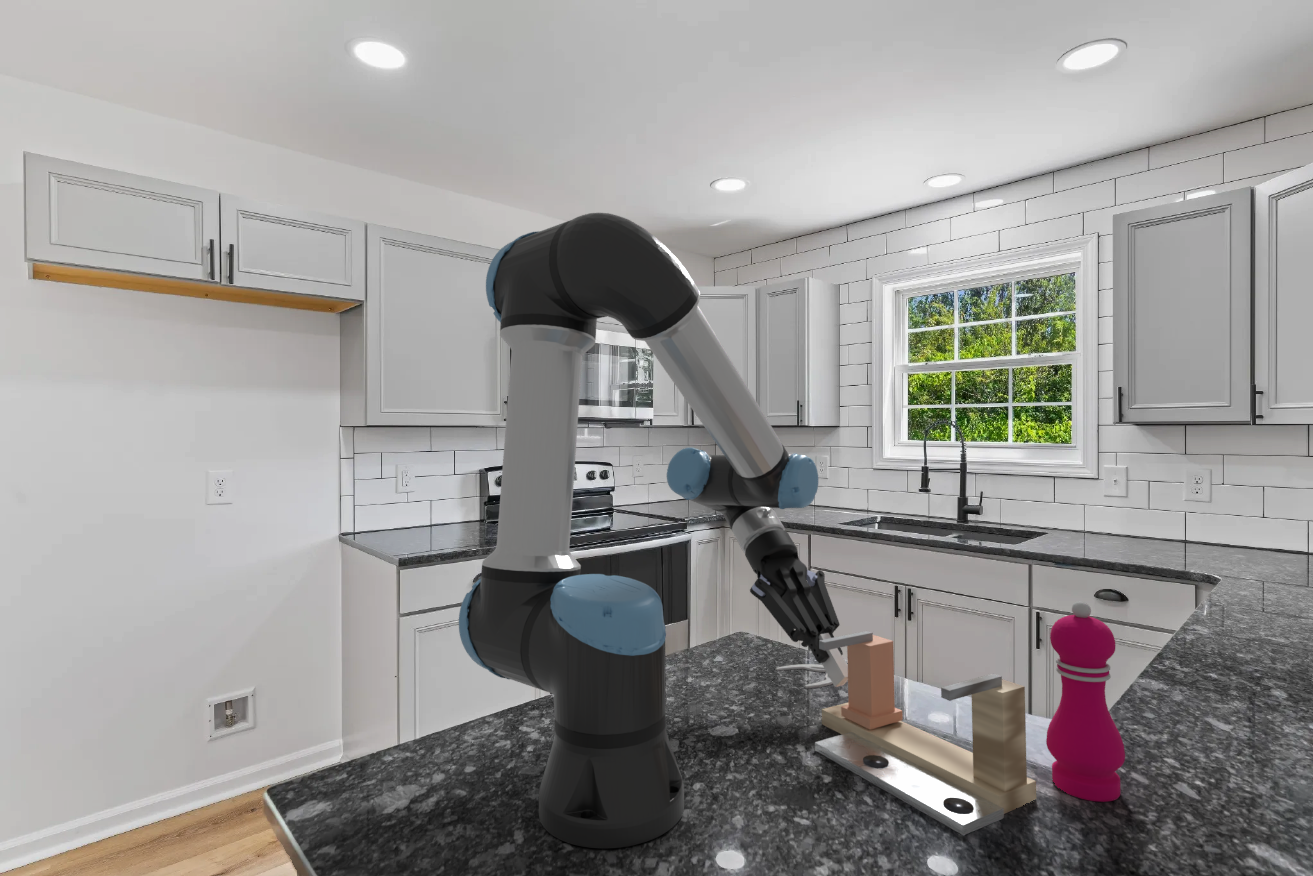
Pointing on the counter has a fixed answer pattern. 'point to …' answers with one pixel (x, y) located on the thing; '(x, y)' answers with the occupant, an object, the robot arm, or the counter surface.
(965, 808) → the hole plate
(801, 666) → the pliers
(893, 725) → the rail
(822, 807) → the counter surface
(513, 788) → the counter surface
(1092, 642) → the pepper mill
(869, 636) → the slide leg
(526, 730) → the counter surface
